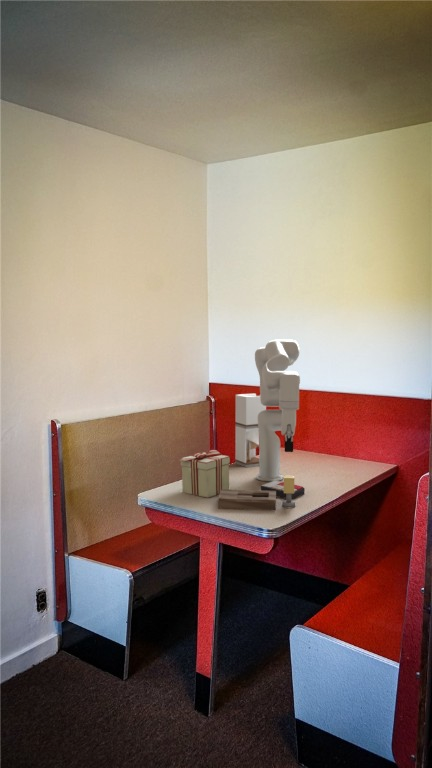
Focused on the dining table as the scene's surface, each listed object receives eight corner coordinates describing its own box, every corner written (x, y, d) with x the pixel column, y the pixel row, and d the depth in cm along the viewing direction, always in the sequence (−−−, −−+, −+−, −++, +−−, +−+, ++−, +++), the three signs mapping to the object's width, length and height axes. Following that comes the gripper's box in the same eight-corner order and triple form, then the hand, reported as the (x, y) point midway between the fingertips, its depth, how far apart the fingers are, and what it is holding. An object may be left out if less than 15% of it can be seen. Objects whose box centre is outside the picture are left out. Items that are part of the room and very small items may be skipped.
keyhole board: (221, 499, 249) (221, 489, 249) (275, 500, 247) (275, 490, 246) (218, 508, 236) (218, 498, 236) (275, 510, 234) (275, 500, 234)
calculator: (292, 491, 248) (260, 484, 256) (291, 502, 248) (260, 494, 257) (305, 486, 256) (274, 478, 265) (304, 496, 257) (273, 488, 266)
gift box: (196, 484, 272) (196, 445, 271) (231, 490, 262) (231, 450, 260) (172, 492, 258) (172, 452, 257) (208, 500, 248) (208, 457, 246)
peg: (282, 503, 243) (282, 475, 241) (295, 504, 242) (295, 475, 241) (282, 507, 238) (282, 478, 237) (295, 507, 237) (295, 478, 236)
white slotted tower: (246, 467, 304) (246, 396, 300) (235, 463, 313) (235, 394, 310) (265, 464, 309) (266, 395, 305) (254, 460, 318) (255, 393, 315)
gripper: (279, 402, 245) (279, 444, 246) (279, 408, 228) (278, 453, 229) (298, 402, 244) (297, 445, 246) (299, 408, 227) (299, 454, 229)
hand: (288, 449), depth 237 cm, fingers open, 9 cm apart
